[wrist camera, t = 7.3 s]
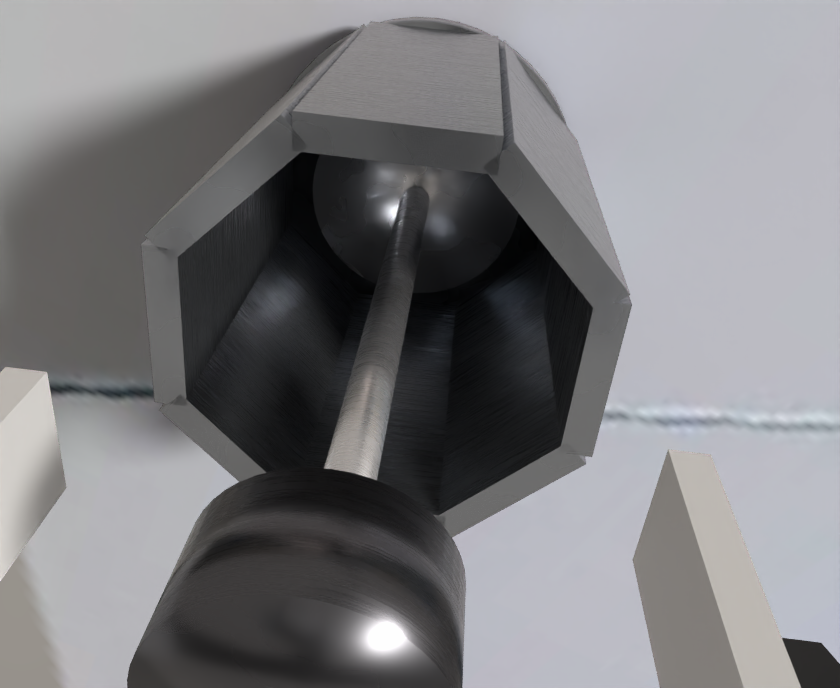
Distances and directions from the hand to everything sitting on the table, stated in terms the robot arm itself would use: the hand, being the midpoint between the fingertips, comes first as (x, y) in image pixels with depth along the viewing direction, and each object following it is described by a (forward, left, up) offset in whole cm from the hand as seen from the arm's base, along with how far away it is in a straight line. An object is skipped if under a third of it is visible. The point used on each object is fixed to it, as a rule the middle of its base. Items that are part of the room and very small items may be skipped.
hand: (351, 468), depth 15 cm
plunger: (0, 0, -15) cm, 15 cm away
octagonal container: (+1, 0, -17) cm, 17 cm away
